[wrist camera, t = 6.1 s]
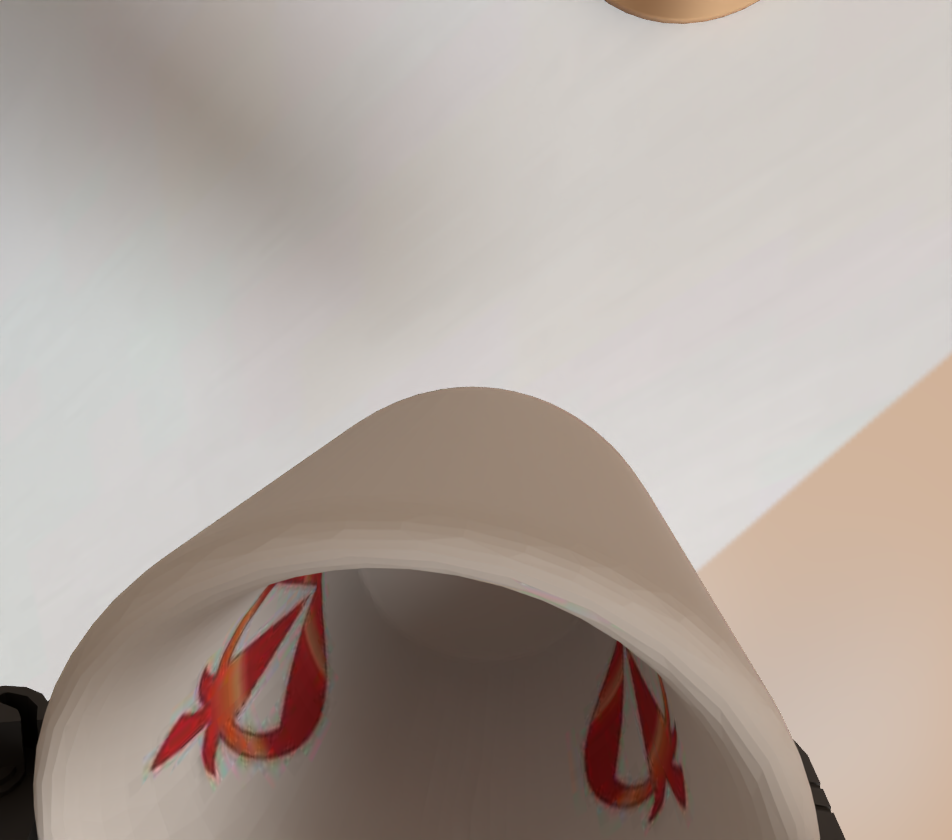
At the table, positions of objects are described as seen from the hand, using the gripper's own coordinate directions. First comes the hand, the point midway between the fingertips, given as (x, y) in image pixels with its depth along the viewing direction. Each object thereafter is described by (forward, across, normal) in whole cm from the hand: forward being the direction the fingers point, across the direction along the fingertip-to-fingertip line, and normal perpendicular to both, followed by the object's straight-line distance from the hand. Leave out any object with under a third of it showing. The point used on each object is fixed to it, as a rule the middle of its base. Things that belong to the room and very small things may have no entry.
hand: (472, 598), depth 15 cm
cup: (+1, 0, 0) cm, 1 cm away
